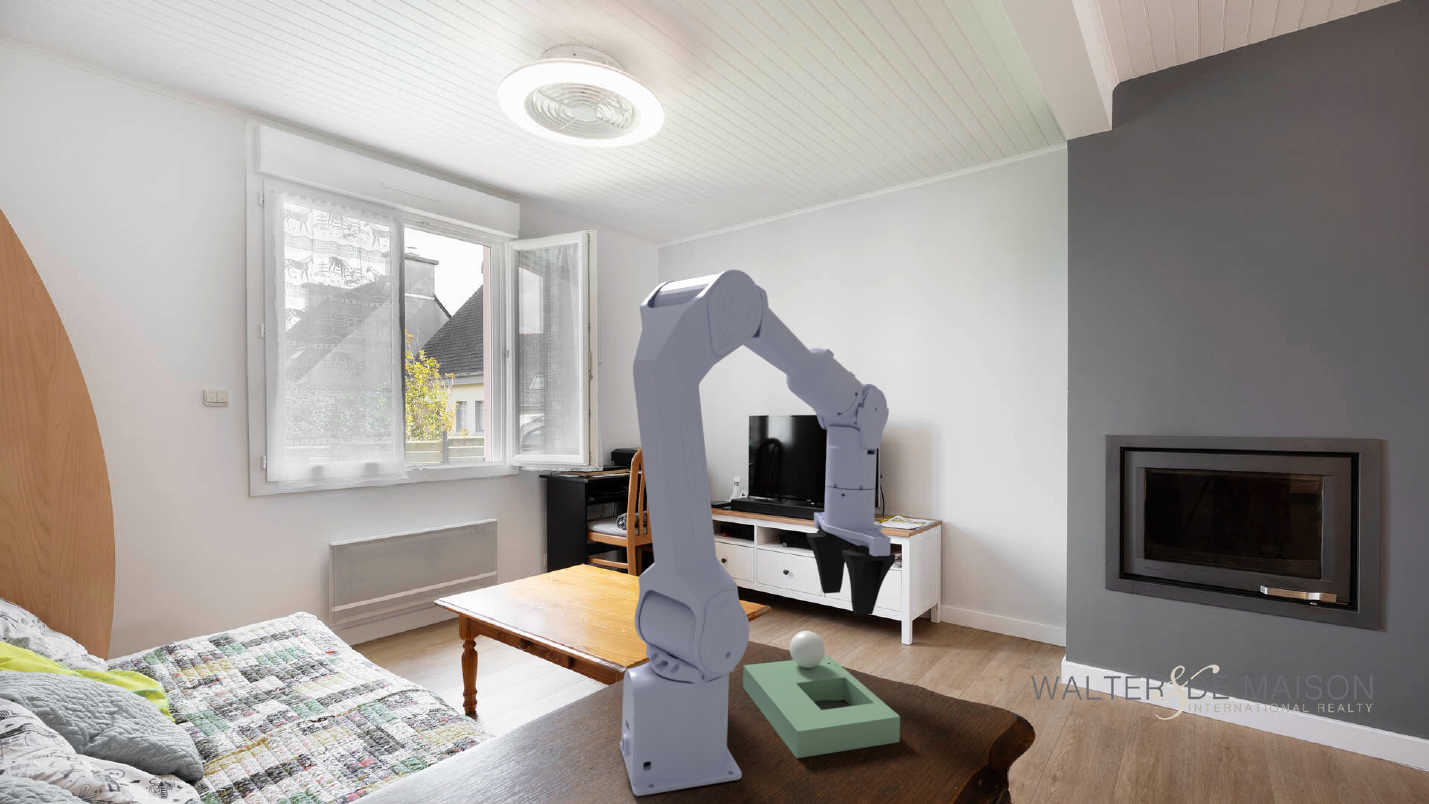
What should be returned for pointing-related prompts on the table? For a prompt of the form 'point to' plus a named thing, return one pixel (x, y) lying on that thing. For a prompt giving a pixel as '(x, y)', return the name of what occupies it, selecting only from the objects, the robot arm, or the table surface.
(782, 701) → the green
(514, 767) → the table surface
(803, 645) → the ball
